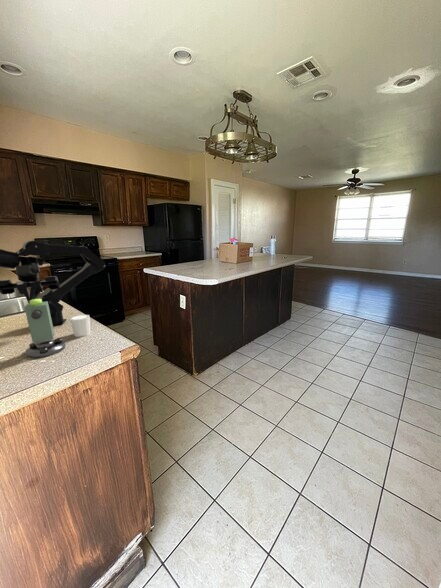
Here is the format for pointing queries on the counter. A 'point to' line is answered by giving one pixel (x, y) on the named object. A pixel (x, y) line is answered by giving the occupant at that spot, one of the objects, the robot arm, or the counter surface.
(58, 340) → the base
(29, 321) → the dome-topped green pillar
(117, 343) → the counter surface
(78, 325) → the white cup
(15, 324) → the counter surface
